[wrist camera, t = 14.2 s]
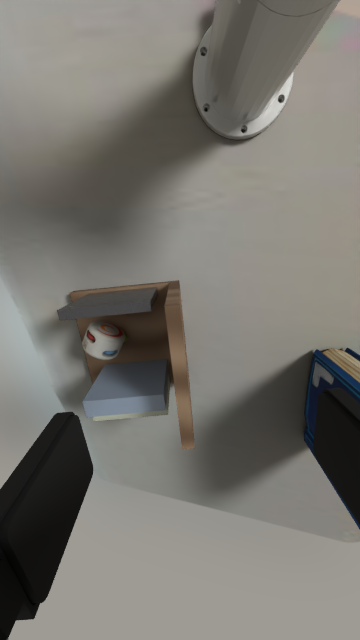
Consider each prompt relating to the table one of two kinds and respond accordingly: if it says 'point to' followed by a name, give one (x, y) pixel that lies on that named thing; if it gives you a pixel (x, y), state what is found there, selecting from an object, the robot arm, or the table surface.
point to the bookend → (110, 303)
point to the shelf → (151, 343)
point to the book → (330, 387)
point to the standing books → (129, 391)
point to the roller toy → (103, 340)
